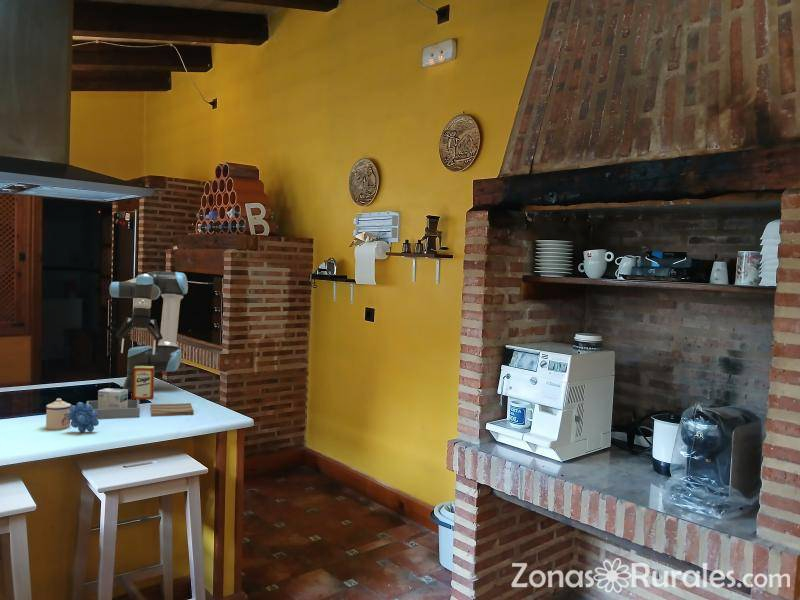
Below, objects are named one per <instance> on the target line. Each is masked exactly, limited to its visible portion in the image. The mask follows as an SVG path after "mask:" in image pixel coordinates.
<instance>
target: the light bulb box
mask: <svg viewBox="0 0 800 600" xmlns="http://www.w3.org/2000/svg"><path fill="white" fill-rule="evenodd" d="M128 394H129V392H128V390H127V389H123V388H121V389H120V388H108V387H107V388H102V389H99V390H98V391H97V401H98V409H117V408H127V406H128V400H129V399H128V398H129V397H128V396H129V395H128Z"/></svg>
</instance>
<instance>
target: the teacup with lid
mask: <svg viewBox="0 0 800 600" xmlns="http://www.w3.org/2000/svg"><path fill="white" fill-rule="evenodd" d="M71 406H72V404H71V403H68V402H67V401H64V400H62V398H56V400H55V401H53V402H51V403H48V404H46V406H45V409H46V416H45V419H46V420H45V427H46V429H47V430H50V431H51V430H53V431H56V430H57V431H58V430H65V429H68V428H70V427H71V420H69V419H68V417H67V415H68V413H70V412H71V411H70V407H71Z"/></svg>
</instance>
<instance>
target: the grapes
mask: <svg viewBox="0 0 800 600" xmlns="http://www.w3.org/2000/svg"><path fill="white" fill-rule="evenodd" d="M92 410H93V407H92V406H91V405H90V404H87V405H86V404H85V403H84V402H80V401H79V402H77V403H76V405H74V404H73V405H72V404H71V407H70V411H71V412H70V413H68V415H67V417H68V419H69V420H70V427H73V428H75V429H76V428H77V429H78V431H79V432H81V433H84V432H86V431H87V432H93V431H94V429H95V427H97V426H99V425H100V423H99V419H96V418H97V417H98V413H97V411H94V410H93V411H92Z"/></svg>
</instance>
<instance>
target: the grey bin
mask: <svg viewBox="0 0 800 600" xmlns="http://www.w3.org/2000/svg"><path fill="white" fill-rule="evenodd" d="M87 404H90V405H91V406H92V407H93V410H94V411H97V413H98V417H97V418H96V419H97V420H100V419H101V420H103V419H129V418H140V399H136V400H132V399H128V406H127V408H117V409H98V400H86V403H85V405H87ZM93 410H92V411H93Z"/></svg>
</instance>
